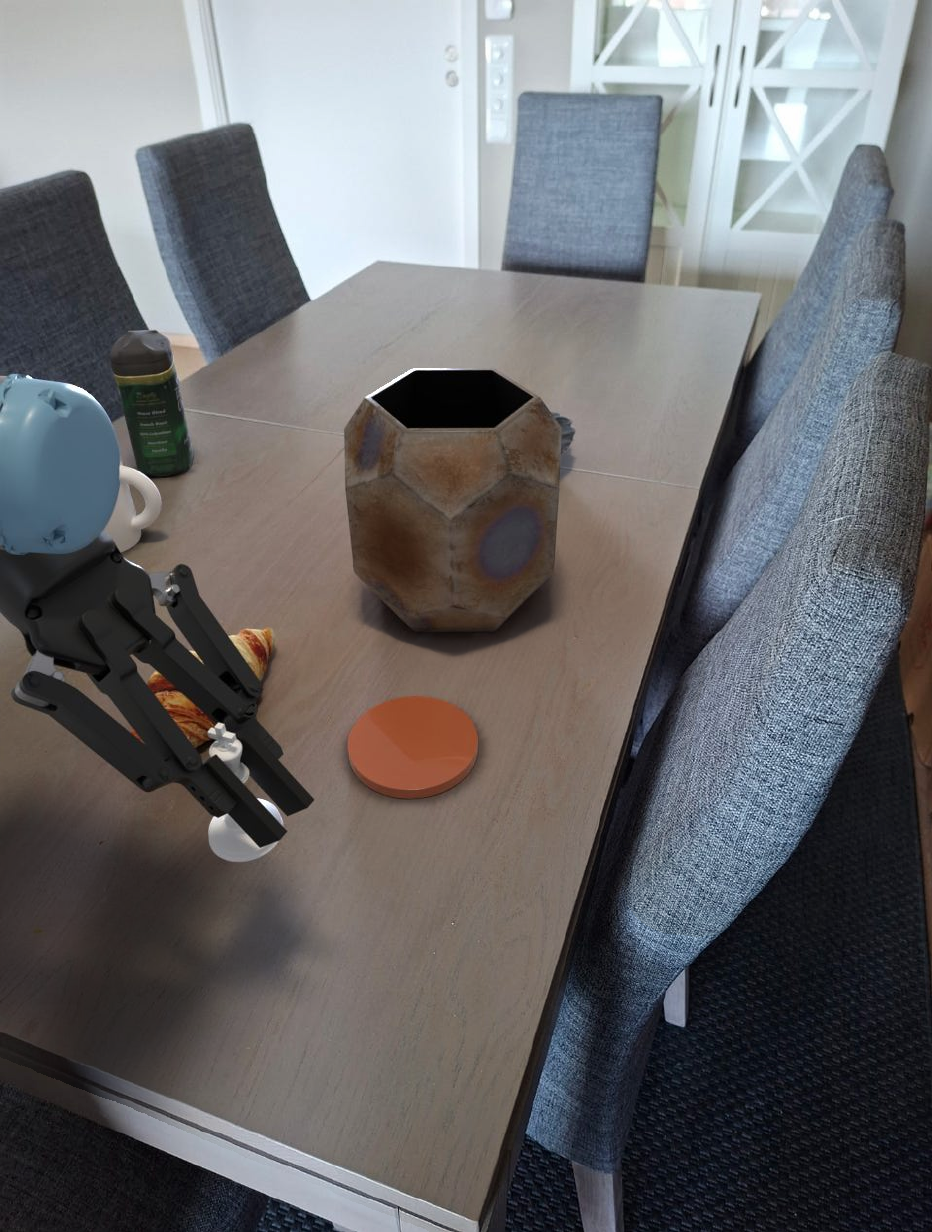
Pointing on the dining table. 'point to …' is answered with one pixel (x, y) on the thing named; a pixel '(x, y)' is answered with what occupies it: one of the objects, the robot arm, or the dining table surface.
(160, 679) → the croissant
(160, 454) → the coffee jar
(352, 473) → the planter
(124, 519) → the mug
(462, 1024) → the dining table surface
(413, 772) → the orange flat disc
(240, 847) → the chess piece
